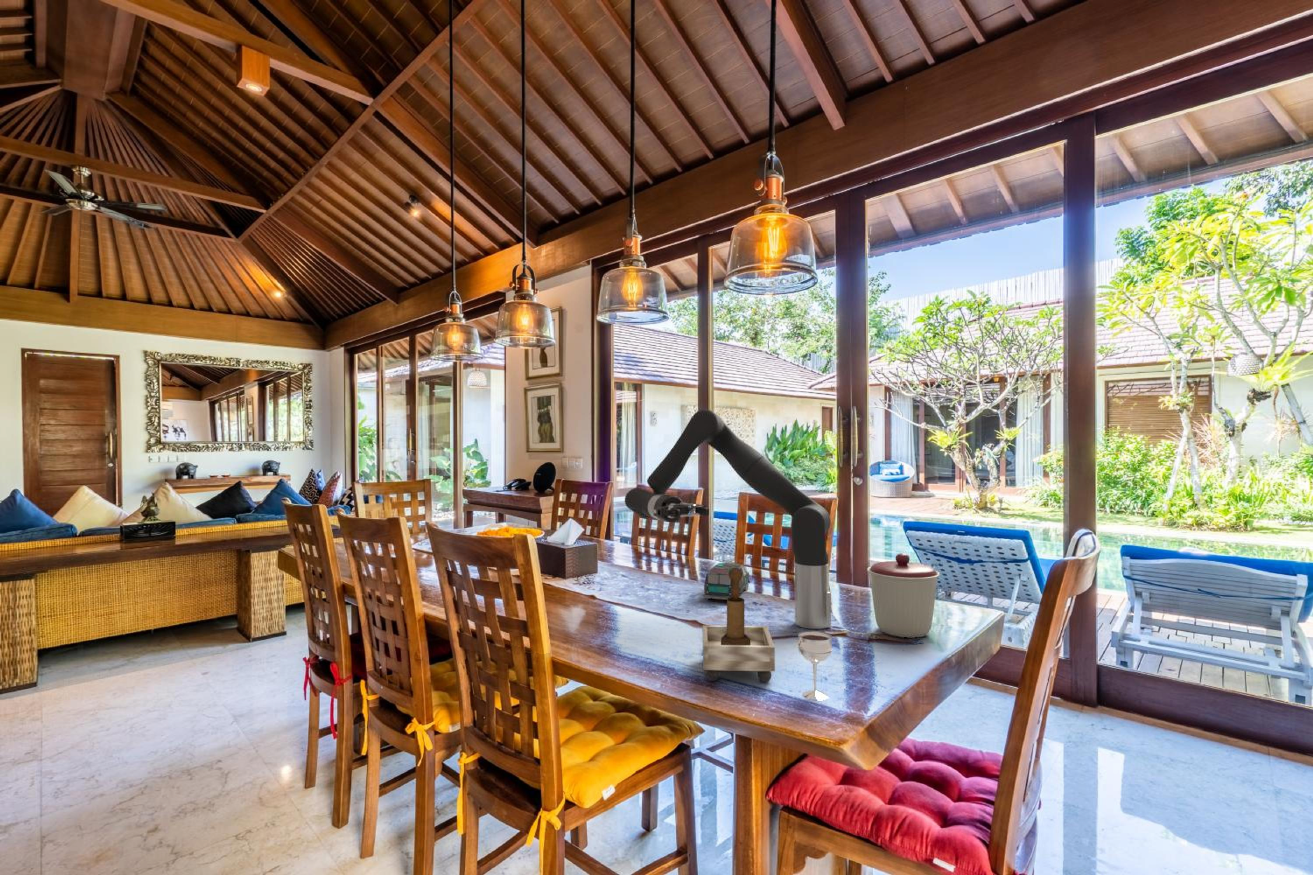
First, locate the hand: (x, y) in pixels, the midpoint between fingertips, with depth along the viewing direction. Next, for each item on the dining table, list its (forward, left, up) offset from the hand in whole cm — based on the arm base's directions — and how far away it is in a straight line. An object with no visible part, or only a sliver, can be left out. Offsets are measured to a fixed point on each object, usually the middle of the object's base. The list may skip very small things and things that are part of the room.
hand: (693, 513), depth 163 cm
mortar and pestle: (-9, +24, -28) cm, 38 cm away
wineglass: (-25, +36, -33) cm, 55 cm away
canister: (-56, -7, -33) cm, 65 cm away
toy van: (-11, -47, -33) cm, 58 cm away
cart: (-10, +24, -33) cm, 42 cm away
